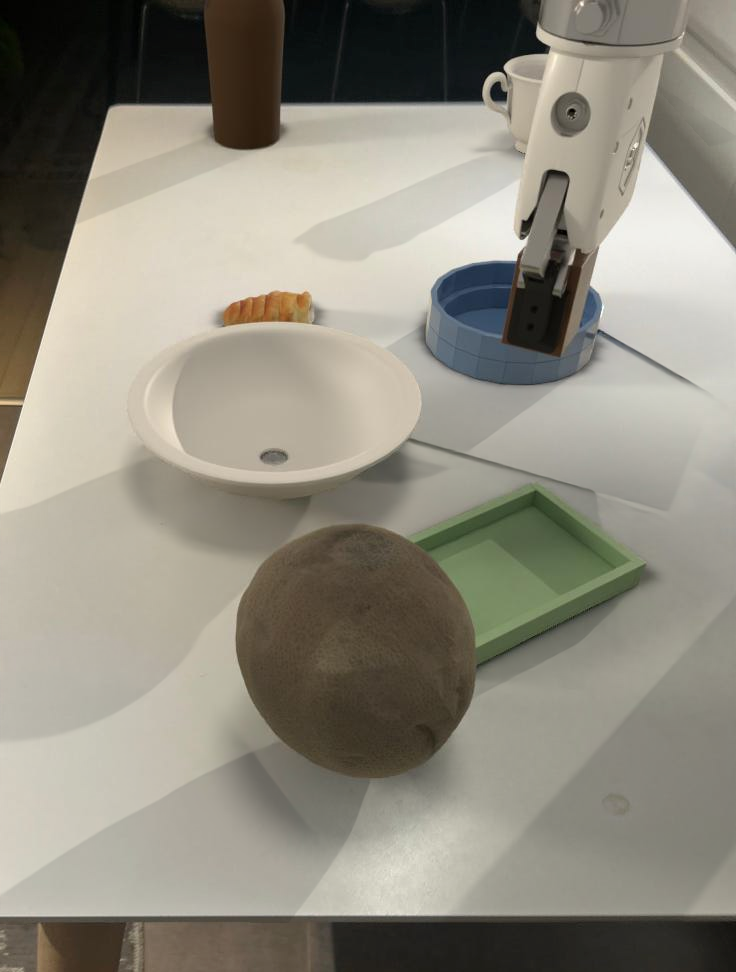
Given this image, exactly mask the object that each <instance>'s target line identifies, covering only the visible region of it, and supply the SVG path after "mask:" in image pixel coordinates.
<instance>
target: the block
mask: <svg viewBox="0 0 736 972" xmlns="http://www.w3.org/2000/svg"><path fill="white" fill-rule="evenodd" d="M555 236H558V237H563V238H568V236H565V235H560V234H556V235H555ZM600 245H601V244H600ZM600 245H599V246H598V247H597V248H596V249H594V250H593V251H591V252H589V253H587V254H585V253H581V249H579V248H576V252H575V256H574V259H573V263H572V267H571V270H570V274H569V278H568V281H567V285H566V288H565V291H569V292H570V295H569V299H568V303H567V307H566V311H565V316H564V320H563V324H562V328H561V332H560V337H559V341H558V345H557V347H556V349H555V350H554V352H552V353H544V352H540V351H536V350H533V349H529V348H525V347H521V346H517V345H513V344H510V343H508V341H507V333H508V327H509V322H510V317H511V312H512V307H513V302H514V297H515V292H516V286H517V282H518V277H519V273H520V261H521V258H522V254H523V251H524V248H525V246H524V247H522V249H521V250H520V251H519V252H518V253H517V257H516V261H517V262H516V267H515V273H514V278H513V283H512V288H511V294H510V299H509V304H508V309H507V315H506V320H505V325H504V330H503V336H502V341H501V343H503V344H507V345H511V346H515V347H519V348H523V349H527V350H531V351H535V352H539V353H543V354H547V355H551V356H555V357H559V358H560V357H561V356H562V354H563V353H564V351H565V350H566V348H567V347H568V345H569V344H570V342H571V341H572V339H573V338H574V336H575V335H576V333H577V332H578V330H579V326H580V322H581V318H582V314H583V310H584V306H585V302H586V298H587V294H588V290H589V286H591V281H592V277H593V274H594V269H595V265H596V262H597V258H598V255H599V254H598V253H599V249H600ZM550 256H551V258H550V259H552V260H556V261H557V267H558V268H559V264H560V260H561V257H562V252H557V251H552V250H551V252H550Z"/></svg>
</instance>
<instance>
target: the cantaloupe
mask: <svg viewBox="0 0 736 972" xmlns="http://www.w3.org/2000/svg"><path fill="white" fill-rule="evenodd" d="M406 538H407V537H404V536H403V535H401V534H399V533H396V532H394V531H392V530H389V529H387V528H385V527H380V526H377V525H371V524H365V523H344V524H333V525H329V526H328V525H327V526H324V527H321V528H318V529H315V530H313V531H311V532H308V533H306V534H304V535H301V536H299V537H297V538H295V539H292V540H290V541H289V542H287V543H285V544H283V546H280V547H279V548H278V549H276V550H275V551H274V552H272V553H271V554H270V555H269V556H268V557H267V558H266V559H265V560H264V561H263V562H262V563H261V564H260V565H259V566H258V568H257V569H256V572H255V573H254V575H253V577H252V579H251V580H250V582H249V585H248V586H247V587H246V589H245V590H244V592H243V593H242V595H241V598H240V600H239V604H238V607H237V611H236V621H235V622H236V623H235V638H234V639H235V655H236V659H237V664H238V666H239V667H238V668H239V670H240V674H241V676H242V679H243V682H244V686H245V688H246V691H247V693H248V695H249V697H250V700H251V702H252V704H253V706H254V707H255V709H256V710H257V712H258V714H259V716H260V717H261V718H262V719H263V721H264V722H265V723H266V724H267V726H268V727H269V728H270V730H271V732H273V734H274V735H275V736H276V737H277V738H278V739H279V740H281V741H282V742H283V743H284V744H285V745H286V746H287V747H289V748H290V749H291V750H292V751H293V752H295V753H297V754H298V755H299V756H301V757H303V758H304V759H306V760H307V761H309V762H310V763H312V764H314V765H316V766H318V767H321V768H323V769H324V770H327V771H331V772H333V773H337V774H340V775H343V776H347V777H351V778H357V779H375V780H376V779H377V780H378V779H385V778H386V779H387V778H392V777H395V776H399V775H402V774H404V773H407V772H409V771H411V770H414V769H416V768H418V767H420V766H422V765H423V764H425V763H426V762H427V761H429V760H431V759H432V757H434V756H435V755H436V754H437V752H439V750H440V749H441V748H442V747H443V746H444V745H445V743H447V741H448V740H449V739H450V738H451V736H452V734H453V733H454V732H455V731H456V729H458V726H459V725H460V724H461V722H462V720H463V718H464V717H465V716H466V713H467V711H468V710H469V708H470V706H471V703H472V700H473V696H474V692H475V688H476V679H477V666H476V643H475V631H474V627H473V623H472V620H471V617H470V614H469V611H468V608H467V606H466V604H465V602H464V600H463V598H462V596H461V594H460V592H459V591H458V589H457V588H456V587H455V585H454V584H453V582H452V581H451V580H450V578H449V577H448V575H447V574H446V573H445V572H444V571H443V569H442V568H441V567H440V566H439V565H438V563H437V562H436V561H435V560H434V559H433V558H432V557H431V556H430V555H429V554H428V553H427V552H426V551H425V550H423V549H422V548H421V547H419V546H418V545H416V544H415V543H413V542H411V541H410V540H408V539H406Z"/></svg>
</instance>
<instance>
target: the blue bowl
mask: <svg viewBox="0 0 736 972" xmlns="http://www.w3.org/2000/svg"><path fill="white" fill-rule="evenodd" d="M516 262H517V260H499V259H496V260H486V261H479V262H471V263H469V264H464V265H462V266H459V267H456V268H453V269H450V270H449V271H447V272H445V273H444V274H442V275H441V276H439V277H438V278H437V279H436V281H435V282H434V284H433V286H432V287H431V289H430V291H429V292H430V293H429V300H428V306H427V307H428V308H427V317H426V324H425V331H424V332H425V343H426V345H427V347H428V349H429V350H430V352H431V353H432V354H433V356H434V358H436V359H437V360H439V361H440V362H441V363H443V364H444V365H446V366H447V367H448V368H450V369H451V370H454V371H456V372H459V373H461V374H463V375H465V376H469V377H471V378H473V379H478V380H483V381H487V382H492V383H493V382H494V383H497V384H504V385H509V384H510V385H536V384H544V383H550V382H555V381H556V382H557V381H559V380H561V379H564V378H566V377H569V376H572V375H574V374H576V373H578V372H579V371H580V370H581V369H582V368H583V367H584V366H586V365H587V364H588V363H589V361H590V359H591V355H592V353H593V350H594V345H595V342H596V338H597V334H598V330H599V327H600V323H601V320H602V316H603V312H604V309H605V306H604V304H603V301H602V297H601V295H600V293H599V292H598V291H597V290H596V289H595V288H593V286H592V285H590V286H589V290H588V294H587V298H586V302H585V306H584V310H583V314H582V318H581V322H580V326H579V330H578V332H577V333H576V335H575V336H574V338H573V339H572V341H571V342H570V344H569V345H568V347H567V348H566V350H565V351H564V353H563V354H562V356H561V357H560V358H559V357H555V356H551V355H547V354H543V353H539V352H535V351H531V350H527V349H523V348H519V347H515V346H511V345H507V344H503V343H501V341H502V336H503V330H504V325H505V320H506V315H507V309H508V304H509V299H510V294H511V288H512V283H513V278H514V273H515V267H516Z"/></svg>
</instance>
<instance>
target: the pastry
mask: <svg viewBox="0 0 736 972" xmlns="http://www.w3.org/2000/svg"><path fill="white" fill-rule="evenodd" d="M221 319H222V323H223V326H224V327H226V326H232V325H238V324H246V323H257V322H295V323H306V324H313V323H314V320H315V309H314V305H313V299H312V294H311V293H310V292H309V291H306V290H305V291H304V292H303V293H297V292H290V291H280V290H273V291H270V292H268V293H267V294H260V295H258V296H248V297H246V298H245V299H241V300H238V301H234V302H232V303H230V304H229V305H228V306H227V307H226V309H225V310H224V312H223V313H222V315H221Z"/></svg>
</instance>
